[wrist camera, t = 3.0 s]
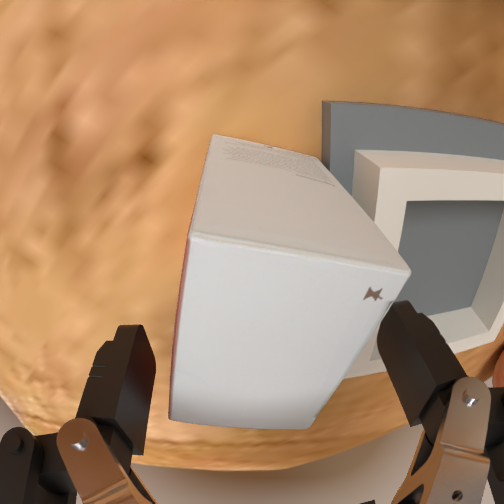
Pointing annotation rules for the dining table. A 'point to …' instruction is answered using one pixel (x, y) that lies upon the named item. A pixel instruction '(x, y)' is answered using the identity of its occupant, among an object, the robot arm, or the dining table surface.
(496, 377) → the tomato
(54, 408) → the dining table surface
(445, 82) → the dining table surface
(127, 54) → the dining table surface
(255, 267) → the small box
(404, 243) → the socket board
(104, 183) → the dining table surface
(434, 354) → the robot arm
